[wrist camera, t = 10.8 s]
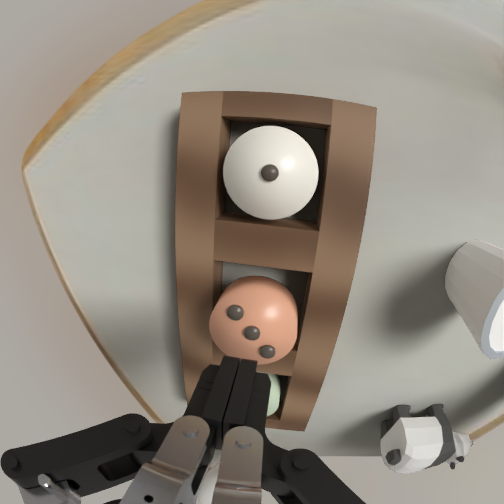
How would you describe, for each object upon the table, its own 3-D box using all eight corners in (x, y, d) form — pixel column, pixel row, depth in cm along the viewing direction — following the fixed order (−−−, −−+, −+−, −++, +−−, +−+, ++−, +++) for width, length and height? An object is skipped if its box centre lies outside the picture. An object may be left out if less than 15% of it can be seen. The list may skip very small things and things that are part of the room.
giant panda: (370, 427, 24) (378, 486, 16) (390, 401, 22) (406, 465, 14) (447, 424, 23) (463, 471, 15) (468, 400, 21) (489, 448, 13)
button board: (304, 411, 23) (304, 431, 21) (195, 394, 25) (188, 412, 22) (365, 114, 15) (376, 107, 12) (196, 100, 16) (182, 92, 14)
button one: (310, 216, 17) (312, 225, 14) (229, 207, 17) (219, 215, 15) (318, 134, 15) (323, 130, 13) (234, 127, 15) (225, 122, 13)
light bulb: (255, 421, 25) (236, 510, 15) (279, 448, 26) (268, 526, 16) (204, 427, 27) (175, 504, 16) (232, 453, 28) (213, 523, 18)
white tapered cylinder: (424, 276, 17) (468, 326, 11) (479, 213, 15) (538, 240, 9) (458, 324, 18) (493, 374, 12) (506, 270, 16) (553, 306, 9)
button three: (291, 347, 18) (289, 371, 15) (218, 336, 18) (208, 359, 16) (303, 281, 16) (304, 301, 14) (219, 270, 17) (208, 288, 14)
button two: (276, 404, 22) (274, 423, 20) (222, 395, 23) (216, 414, 21) (285, 366, 21) (283, 387, 18) (223, 357, 21) (216, 377, 19)
